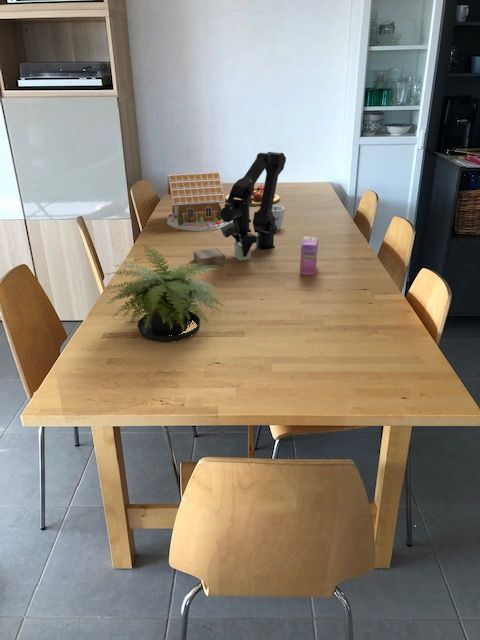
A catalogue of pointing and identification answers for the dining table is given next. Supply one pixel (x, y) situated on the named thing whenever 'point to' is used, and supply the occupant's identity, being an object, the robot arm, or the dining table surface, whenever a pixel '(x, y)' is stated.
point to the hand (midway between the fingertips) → (242, 254)
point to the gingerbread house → (196, 201)
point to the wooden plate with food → (257, 196)
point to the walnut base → (209, 257)
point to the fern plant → (166, 299)
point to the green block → (240, 252)
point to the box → (308, 255)
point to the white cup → (278, 215)
